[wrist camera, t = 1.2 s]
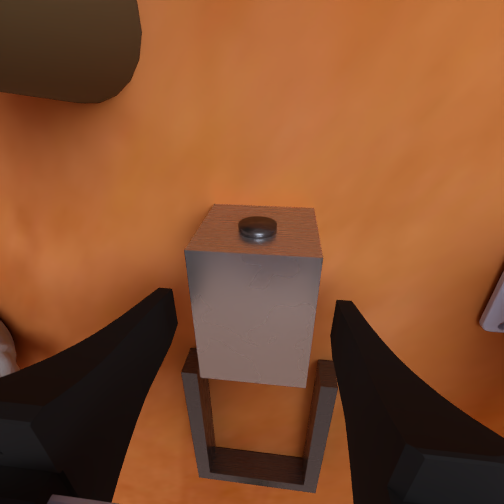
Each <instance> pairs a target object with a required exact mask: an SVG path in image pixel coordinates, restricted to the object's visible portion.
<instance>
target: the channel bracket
mask: <svg viewBox="0 0 504 504" xmlns="http://www.w3.org/2000/svg"><path fill="white" fill-rule="evenodd" d="M181 374H182V380H183V386H184V391H185V397H186V403H187V409H188V415H189V421H190V427H191V432H192V438H193V444H194V450H195V456H196V462H197V468H198V473H199V477H201V478H208V479H216V480H223V481H230V482H238V483H245V484H252V485H260V486H267V487H274V488H281V489H289V490H296V491H303V492H311V493H315V492H316V488H317V483H318V478H319V474H320V469H321V464H322V460H323V455H324V450H325V446H326V441H327V436H328V432H329V427H330V422H331V418H332V413H333V408H334V404H335V399H336V395H337V390H338V386H337V379H336V373H335V368H334V363H333V361H327V360H318V365H317V371H316V377H315V384H314V390H313V397H312V403H311V410H310V416H309V423H308V429H307V436H306V442H305V449H304V455H303V458H299V457H291V456H283V455H275V454H267V453H259V452H251V451H243V450H235V449H227V448H219V447H215V438H214V429H213V420H212V410H211V401H210V392H209V383H208V378H201V377H200V369H199V362H198V354H197V349H196V348H190V351H189V354H188V356H187V359H186V361H185V364H184V366H183V369H182V372H181Z"/></svg>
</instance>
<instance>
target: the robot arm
mask: <svg viewBox="0 0 504 504" xmlns="http://www.w3.org/2000/svg"><path fill="white" fill-rule="evenodd" d="M502 322H503V323H502ZM479 323H480V325H481V327H482V328H483V329H484V330H485V331H489V332H502V333H504V271H503V273H502V275H501V277H500V280H499V282H498V284H497V286H496V288H495V290H494V292H493V294H492V296H491V298H490V300H489V302H488V304H487V306H486V308H485V310H484V312H483V314H482V316H481V319H480V321H479ZM500 323H502V324H500ZM177 324H178V322H177V316H176V310H175V304H174V298H173V291H172V289H168V288H158V289H157V290H155V291H154V292H153V293H151V294H150V295H149V296H147V297H146V298H145V299H143V300H142V301H141V302H140V303H138V304H137V305H136V306H134V307H133V308H132V309H130V310H129V311H128V312H126V313H125V314H123V315H122V316H121V317H119V318H118V319H116V320H115V321H113V322H112V323H110V324H109V325H107V326H106V327H105V328H103V329H101V330H100V331H98V332H97V333H95V334H93V335H92V336H90V337H88V338H86V339H85V340H83V341H81V342H79V343H78V344H76V345H74V346H72V347H70V348H68V349H66V350H64V351H62V352H60V353H58V354H56V355H54V356H52V357H50V358H47V359H45V360H43V361H41V362H38V363H36V364H34V365H31V366H29V367H26V368H24V369H22V370H19V371H16V372H14V373H11V374H8V375H5V376H3V377H0V504H117V503H111V502H112V499H113V495H114V492H115V488H116V485H117V481H118V478H119V474H120V471H121V468H122V465H123V462H124V459H125V455H126V452H127V449H128V446H129V443H130V440H131V437H132V434H133V431H134V428H135V425H136V422H137V420H138V417H139V414H140V411H141V409H142V406H143V403H144V401H145V398H146V396H147V393H148V391H149V389H150V387H151V385H152V383H153V381H154V378H155V376H156V374H157V372H158V370H159V368H160V366H161V364H162V362H163V360H164V358H165V356H166V354H167V352H168V349H169V347H170V345H171V343H172V340H173V337H174V334H175V331H176V327H177ZM330 337H331V349H332V358H333V363H334V368H335V373H336V378H337V382H338V387H339V391H340V396H341V401H342V405H343V410H344V416H345V423H346V432H347V440H348V450H349V459H350V469H351V480H352V491H353V502H354V504H504V438H503V437H501V436H500V435H498V434H497V433H495V432H493V431H492V430H490V429H489V428H487V427H486V426H484V425H482V424H481V423H479V422H478V421H476V420H475V419H473V418H472V417H470V416H469V415H467V414H466V413H464V412H463V411H462V410H460V409H459V408H457V407H456V406H455V405H453V404H452V403H450V402H449V401H448V400H446V399H445V398H444V397H442V396H441V395H440V394H439V393H437V392H436V391H435V390H434V389H432V388H431V387H430V386H429V385H428V384H426V383H425V382H424V381H423V380H422V379H420V378H419V377H418V376H417V375H416V374H415V373H414V372H413V371H411V370H410V369H409V368H408V367H407V366H406V365H405V364H404V363H403V362H402V361H401V360H400V359H399V358H398V357H397V356H396V355H395V354H394V353H393V352H392V351H391V350H390V349H389V347H388V346H387V345H386V344H385V343H384V342H383V341H382V339H381V338H380V337H379V336H378V335H377V333H376V332H375V331H374V330H373V329H372V327H371V326H370V325H369V324H368V322H367V321H366V320H365V318H364V317H363V316H362V314H361V313H360V312H359V310H358V309H357V307H356V306H355V305H354V303H353V302H352V301H345V300H337V301H336V306H335V312H334V318H333V324H332V329H331V335H330Z"/></svg>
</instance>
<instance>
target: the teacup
mask: <svg viewBox="0 0 504 504" xmlns="http://www.w3.org/2000/svg"><path fill="white" fill-rule="evenodd" d="M19 370H20V368H19V367H18V365H17V363H16V351H15V345H14V341H13V338H12V336H11V334H10V332H9V331H8V329H7V327H6V326H5V325H4V324H3V322H2V321H1V320H0V377H3V376H5V375H8V374H11V373H14V372H16V371H19Z"/></svg>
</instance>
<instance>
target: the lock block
mask: <svg viewBox="0 0 504 504" xmlns="http://www.w3.org/2000/svg"><path fill="white" fill-rule="evenodd" d="M184 252H185V260H186V267H187V275H188V283H189V291H190V299H191V307H192V315H193V322H194V330H195V338H196V346H197V354H198V362H199V369H200V377H201V378H210V379H220V380H230V381H240V382H250V383H260V384H270V385H280V386H290V387H300V388H306V382H307V374H308V367H309V359H310V352H311V344H312V337H313V329H314V322H315V314H316V307H317V299H318V292H319V284H320V277H321V269H322V262H323V255H322V250H321V244H320V238H319V233H318V227H317V222H316V216H315V210H314V208H302V207H277V206H252V205H228V204H214V205H213V207H212V208H211V210H210V211H209V213H208V214H207V216H206V217H205V219H204V220H203V222H202V224H201V225H200V227H199V228H198V230H197V231H196V233H195V234H194V236H193V237H192V239H191V240H190V242H189V244H188V245H187V247H186V248H185V250H184Z"/></svg>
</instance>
